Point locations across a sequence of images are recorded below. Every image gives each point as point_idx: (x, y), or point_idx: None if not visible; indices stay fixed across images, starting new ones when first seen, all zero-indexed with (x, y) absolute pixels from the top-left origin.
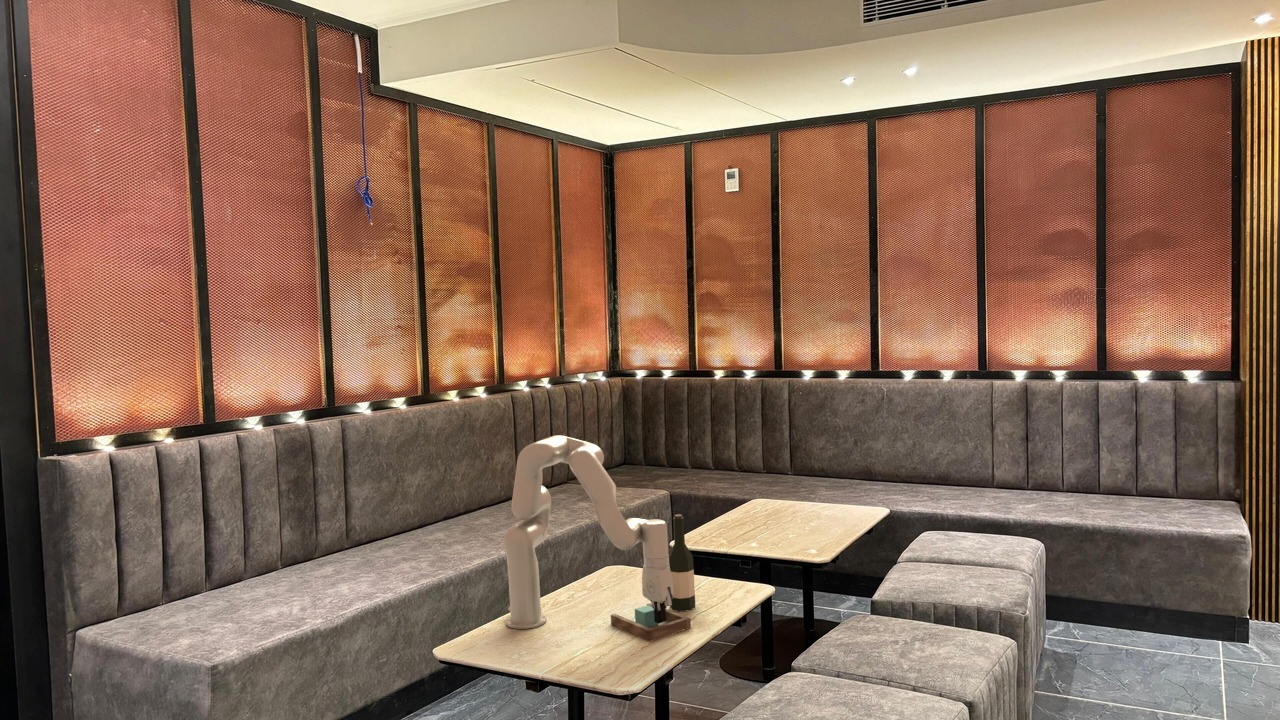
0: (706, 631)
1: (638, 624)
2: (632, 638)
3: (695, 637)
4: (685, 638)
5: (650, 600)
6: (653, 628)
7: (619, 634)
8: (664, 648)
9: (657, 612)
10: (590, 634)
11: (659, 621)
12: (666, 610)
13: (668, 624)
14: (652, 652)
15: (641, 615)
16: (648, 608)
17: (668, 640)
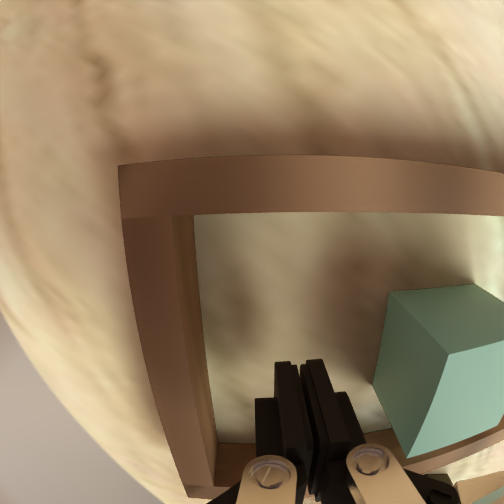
0: (117, 458)
1: (365, 194)
2: (302, 98)
3: (69, 395)
4: (75, 361)
5: (451, 492)
6: (154, 240)
7: (428, 92)
8: (14, 179)
9: (282, 434)
10: (498, 14)
11: (276, 382)
12: None
13: (163, 388)
14: (16, 91)
15: (466, 328)
16: (468, 414)
17: (92, 277)
